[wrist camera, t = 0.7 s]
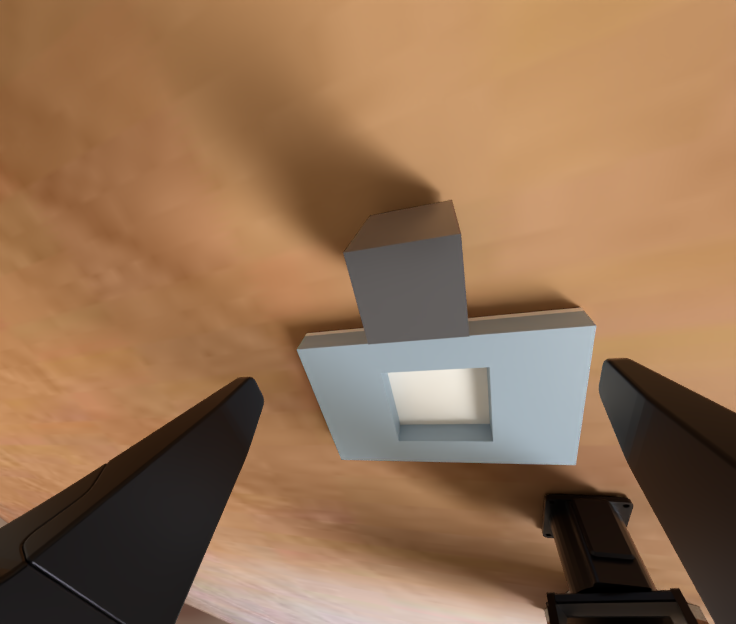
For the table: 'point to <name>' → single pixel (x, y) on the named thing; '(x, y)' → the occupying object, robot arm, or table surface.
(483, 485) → the table surface
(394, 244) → the plug
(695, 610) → the white dispenser
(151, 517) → the robot arm
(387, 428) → the socket
